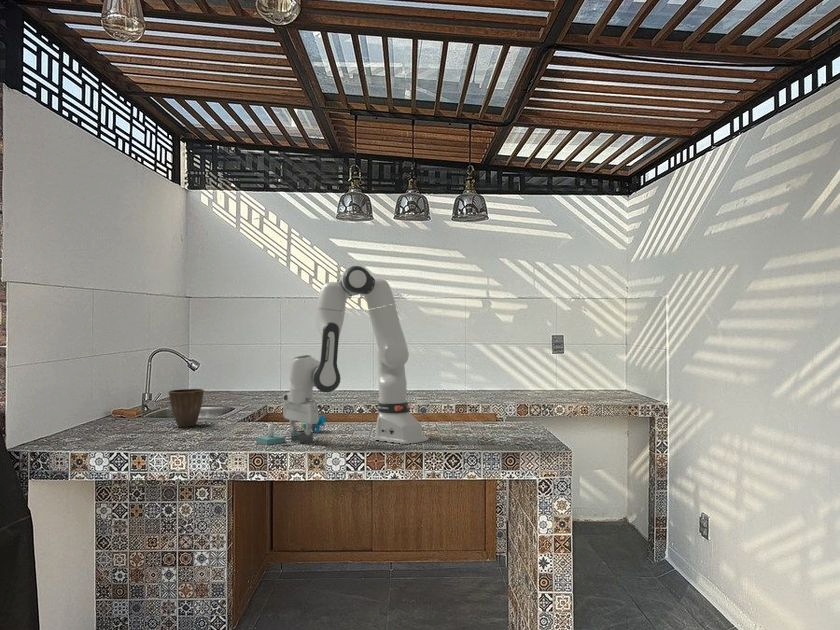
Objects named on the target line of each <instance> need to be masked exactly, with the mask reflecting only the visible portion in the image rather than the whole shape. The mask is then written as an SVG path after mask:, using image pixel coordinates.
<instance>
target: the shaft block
mask: <svg viewBox="0 0 840 630" xmlns="http://www.w3.org/2000/svg"><path fill="white" fill-rule="evenodd" d="M267 432H268V433H267V434H268V435H262V436H256V439H255V441H256V443H257V442H258V444H262V445H265V446H270V445H275V444H276V445H277V444H282V443H283V442H284V443H286V436H282V435H277V434H274V433H275V431H274V423H268V424H267ZM284 443H283V444H284Z"/></svg>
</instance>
